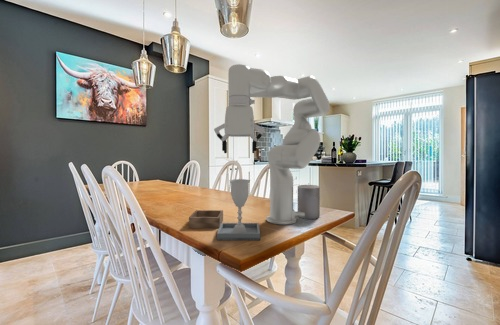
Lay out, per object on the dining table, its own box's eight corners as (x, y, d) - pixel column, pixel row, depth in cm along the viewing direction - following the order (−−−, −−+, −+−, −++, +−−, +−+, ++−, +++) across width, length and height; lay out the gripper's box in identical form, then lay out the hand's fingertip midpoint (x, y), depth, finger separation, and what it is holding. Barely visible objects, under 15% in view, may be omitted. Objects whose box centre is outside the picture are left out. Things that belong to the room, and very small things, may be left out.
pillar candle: (305, 212, 114) (305, 181, 113) (324, 216, 106) (324, 183, 106) (293, 216, 107) (292, 183, 107) (311, 220, 100) (311, 185, 99)
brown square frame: (223, 219, 101) (223, 210, 101) (219, 228, 89) (219, 217, 89) (195, 219, 101) (195, 210, 101) (188, 228, 89) (188, 217, 89)
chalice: (251, 229, 86) (251, 179, 85) (249, 235, 79) (249, 181, 78) (231, 228, 87) (231, 179, 86) (227, 234, 80) (227, 181, 79)
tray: (258, 228, 89) (258, 222, 89) (260, 240, 77) (260, 233, 77) (221, 228, 89) (221, 222, 89) (216, 240, 77) (216, 233, 77)
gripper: (263, 105, 85) (263, 153, 86) (215, 105, 85) (215, 153, 86) (265, 100, 78) (265, 153, 78) (212, 100, 77) (212, 153, 78)
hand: (239, 153), depth 82 cm, fingers open, 9 cm apart
